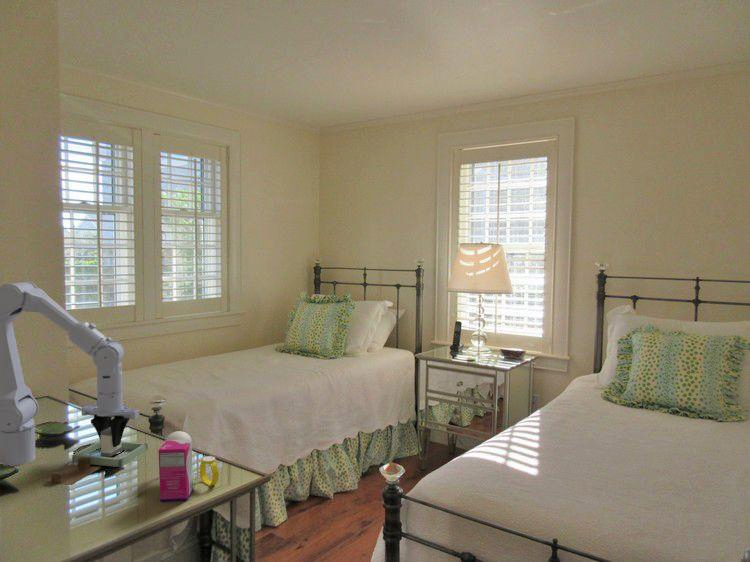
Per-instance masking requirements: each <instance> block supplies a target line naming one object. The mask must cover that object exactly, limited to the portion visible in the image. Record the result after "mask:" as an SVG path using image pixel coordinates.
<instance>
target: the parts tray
mask: <svg viewBox="0 0 750 562" xmlns="http://www.w3.org/2000/svg"><path fill="white" fill-rule="evenodd" d="M100 447H101V442H100V440H99V441H97V442H95V443H93V444H91V445H89V446H87V447H86V448H83V449H81V450H80V451H78V452H76V453H74V454H72V455H71V457H72V459H71V460H72V464H73V463H74V464H78V459H79V458H81V457H83V458H90V465H92V466H93V465H94V466H95V465H97V466H105V467H106V466H107V467H117V468H122V467H123V466H125V465H127V464H128V463H130V462H131V461H133V460H135V459H136V458H137V457H139V456H141V455H142V454H144V453H145V452H147V451H148V448H149V447H148V443H146V442H145V443H144V442H133V441H123V440H121V450H127V451H129V452H128V453H127V454H125V455H123V456H121V457H120V458H119V457H110V456H98V455H86V454H88V453H90V452H92V451H94V450H96V449H98V448H100Z"/></svg>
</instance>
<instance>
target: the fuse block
mask: <svg viewBox="0 0 750 562" xmlns="http://www.w3.org/2000/svg"><path fill="white" fill-rule="evenodd" d="M100 468H102V466H98V465H97V466H95V465H94V466H93V465H91V464H90V458H83V457H81V458H79V459H78V463H77V464H76V463H74V464H73V463H72V464H71V463H70V464H69V465H67V466H65V467H63V468H61V469H60V470H58V471H54V472H52V473H51V474H50V476H47V477H46V478H44V479H42V480H40V481H39V483H45V484H56V485H69V486H73V485H75V484H76V483H78V482H79V481H82V480H83V479H84V478H87V477H88V476H89V475H91V474H92V473H94V472H96V471H98V470H100Z"/></svg>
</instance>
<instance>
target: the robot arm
mask: <svg viewBox="0 0 750 562" xmlns="http://www.w3.org/2000/svg"><path fill="white" fill-rule="evenodd" d="M22 312H27V313H28V312H29V313H38V314H41V316H43V317H45V318H47V319H48V320H49V321H51V322H52V323H53V324H56V325H57V326H58V327H60V328H61V329H62V330H64V331H66V332H67V334H68V340H69V341H70V342H71V343H73V345H75V346H77V347H78V349H80V350H81V351H83V352H84V353H85V354H87V355H88V356H89V357H92V362H93V364H94V365H95V367H96V392H97V393H96V397H97V398H96V399H97V403H96V405H85V406H82V407H81V416H93V418H91V419H90V424H91V425H92V426H93V428H94V430H95V431H96V433H97V436H98V438H99V441H100V442H101V431H103V430H105V429H107V428H109V427H110V428H111V432H112V444H113V447H116V446H118V445H120V443H121V441H122V439H123V434H124V431H125V429H126V427H127V424H128V422H129V421H130V419H131V420H137V419H138V418H140V409H136V408H131V407H127V406H124V397H123V396H124V395H123V394H124V390H123V389H124V387H123V386H124V385H123V380H124V379H123V377H124V376H123V362H122V360H124V358H125V355H126V352H125V348H124V346H123V345H122V344H121V343H120V341H117V340H113V338H111V337H110V336H108V337H107V336H106V335H105V334H103V333H102V332H100V331H99V330H98V329H97V325H96V324H95V323H92V322H91V323H89V322H88V321H82V322H80V321H78V320H77V319H76V318H75V317H74V316H73V315H72V314H70V313H69V312H68V311H67V310H66V309H64V308H63V307H62V306H61V305H60V304H58V303H57V302H56V301H55V300H54V299H53V298H52V297H50V296H49V295H48V294H47V293H46V292H45V291H44V290H43V289H41V288H39V287H37V286H36V284H35V283H33V282H31V281H28V280H23V281H19V282H13V283H4V284H0V461H2V462H4V463H5V464H7V465H9V466H8V467H18V466H22V465H26V464H28V463H31V462H33V461H35V460H36V426H35V425H36V423H35V420H34V417H36V416H37V414H38V412H39V407H40V406H39V403H38V401H37V399H35V397H34V396H33V394H32V390H31V388H29V387H28V386H27V385H26V383H25V377H24V373H23V369H22V364H21V359H20V354H19V349H18V345H17V340H16V334H15V331H14V326H13V322H14V321H15V320H16V319H17V317H18V316H19V315H20V314H22Z"/></svg>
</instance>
